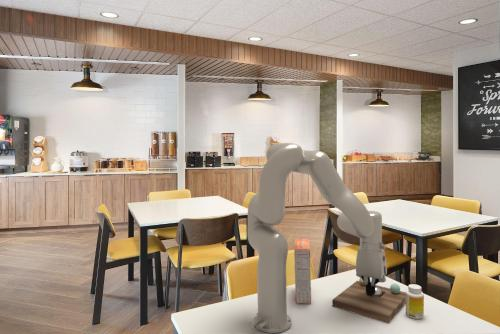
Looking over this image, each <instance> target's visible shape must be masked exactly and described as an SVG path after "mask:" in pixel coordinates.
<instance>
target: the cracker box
mask: <svg viewBox="0 0 500 334" xmlns="http://www.w3.org/2000/svg"><path fill="white" fill-rule="evenodd" d="M293 255H294V258H293V259H294V284H295V285H294V289H295V291H294V292H295V293H294V294H295V304H299V305H301V304H304V305H305V304H306V305H311V304H312V289H311V288H312V287H311V285H312V283H311V247H310V239H309V238H295V239H294V254H293Z"/></svg>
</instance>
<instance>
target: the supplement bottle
mask: <svg viewBox="0 0 500 334" xmlns="http://www.w3.org/2000/svg"><path fill="white" fill-rule="evenodd" d="M405 292H406V303H405V315H406V316H407V317H409V318H410V319H415V320H421V319H423V318H424V315H425V314H424V312H425V310H424V309H425V308H424V307H425V306H424V305H425V304H424V302H425V296H424V295H425V294H424V293H423V291H422V286H421V285H418V284H413V283H411V284H408V289H407V290H406V291H405Z"/></svg>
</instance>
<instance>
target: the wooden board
mask: <svg viewBox="0 0 500 334" xmlns="http://www.w3.org/2000/svg"><path fill="white" fill-rule="evenodd" d="M376 287H378V288H379V289H380V290H381V291H382V296H381V297H377V296H367V292H366V285H365V286H363V285H361V284H360V282H359V280H356V281H355V282H353V283H352V284H351V285H350V286H348V287H346V288H345V289H344V290H342V292H340V293H339V294H337V295H336V296H335V297H333V299H331V300H332V301H331V302H332V306H331V307H333V308H337V309H340V310H343V311H347V312H351V313H353V314H357V315H359V316H363V317H365V318H370V319H373V320H377V321H380V322H382V323H386V324H390V322H391V321H392V320H393V319H394V318H395V316H396V315H397V314H398V313H399V312H400V311H401V310H402V308H403V307H404V306H406V291H401V290H400V292H399V293H393V292H392V291H391V290H390V287H386V286H382V285H378V284H376Z"/></svg>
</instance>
